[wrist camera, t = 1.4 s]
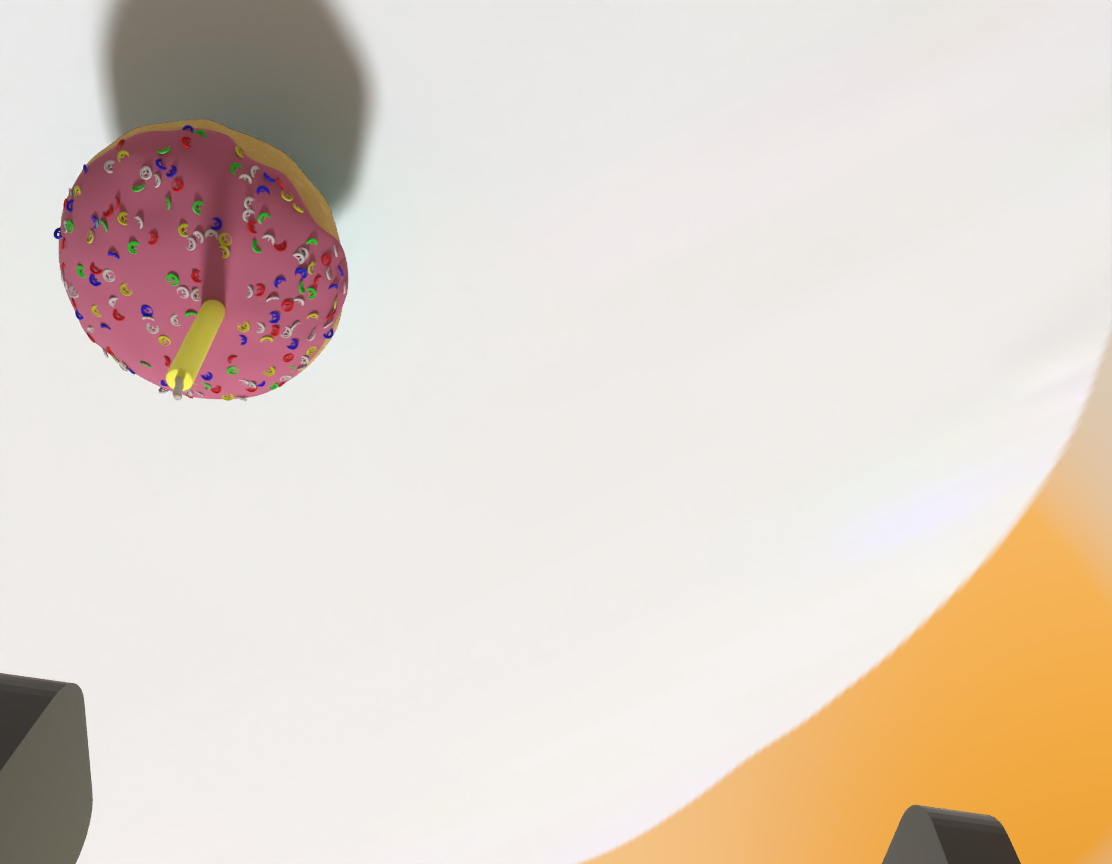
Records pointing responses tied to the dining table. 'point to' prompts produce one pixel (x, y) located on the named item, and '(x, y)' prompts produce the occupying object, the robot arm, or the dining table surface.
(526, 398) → the dining table surface
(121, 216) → the cupcake
